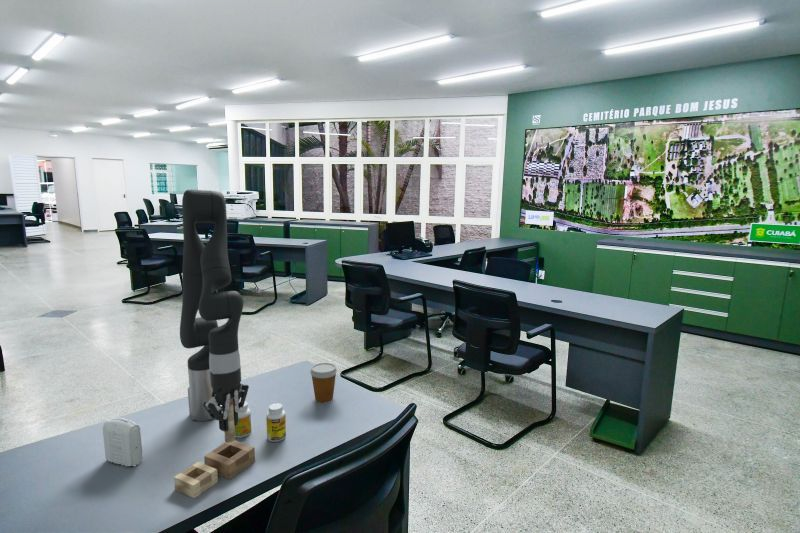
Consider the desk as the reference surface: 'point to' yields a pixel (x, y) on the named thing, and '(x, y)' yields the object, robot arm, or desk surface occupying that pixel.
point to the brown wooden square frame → (230, 458)
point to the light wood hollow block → (195, 479)
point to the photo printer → (122, 441)
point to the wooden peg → (230, 424)
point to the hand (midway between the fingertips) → (229, 427)
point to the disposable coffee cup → (323, 381)
